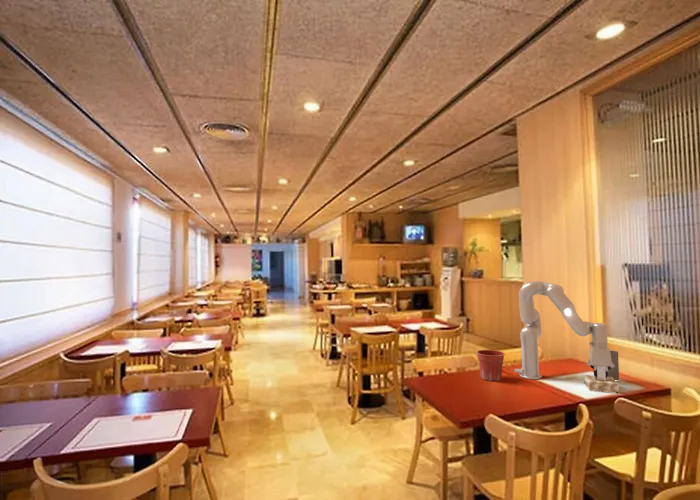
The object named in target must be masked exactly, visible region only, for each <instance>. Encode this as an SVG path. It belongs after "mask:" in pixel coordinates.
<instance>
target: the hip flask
mask: <svg viewBox="0 0 700 500" xmlns="http://www.w3.org/2000/svg"><path fill="white" fill-rule="evenodd" d="M610 354H611V361H612V363H613V364H614V365H615V367H613V368H611V369H610V370H608V377H612V378H613V379H614V380H619V381H620V368H619V351H617V350H611V349H610ZM607 367H608V366H607Z"/></svg>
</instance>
